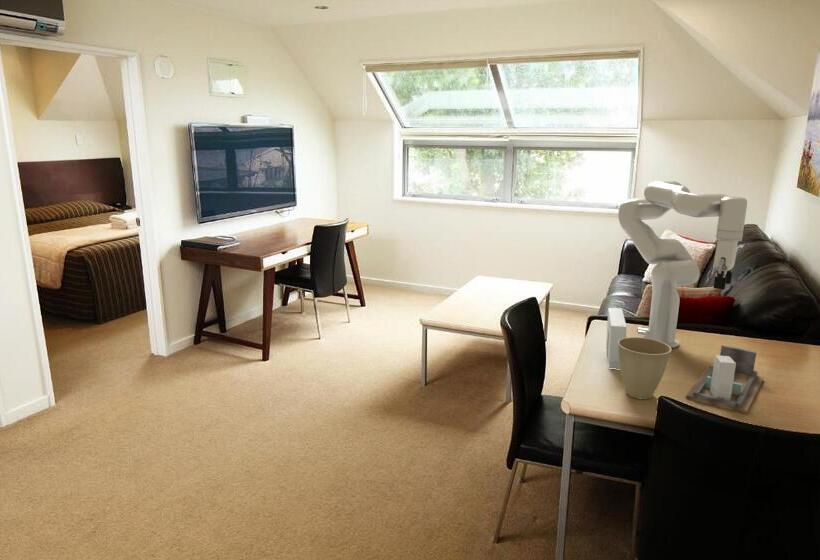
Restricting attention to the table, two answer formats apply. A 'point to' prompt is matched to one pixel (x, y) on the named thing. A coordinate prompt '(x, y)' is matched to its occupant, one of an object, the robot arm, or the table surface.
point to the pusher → (735, 388)
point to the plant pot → (642, 365)
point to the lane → (742, 375)
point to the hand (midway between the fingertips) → (722, 285)
